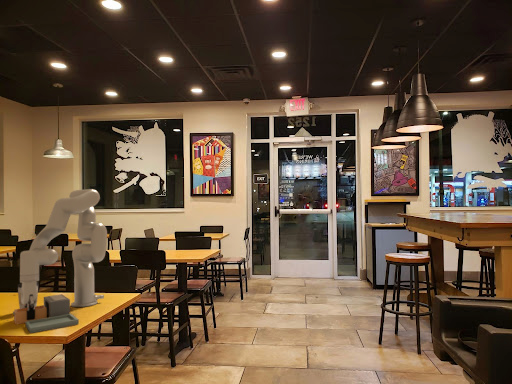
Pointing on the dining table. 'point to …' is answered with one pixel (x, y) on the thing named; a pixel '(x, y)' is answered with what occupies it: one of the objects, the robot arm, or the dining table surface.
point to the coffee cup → (21, 293)
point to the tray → (51, 323)
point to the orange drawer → (21, 314)
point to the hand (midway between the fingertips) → (29, 317)
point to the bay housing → (57, 305)
